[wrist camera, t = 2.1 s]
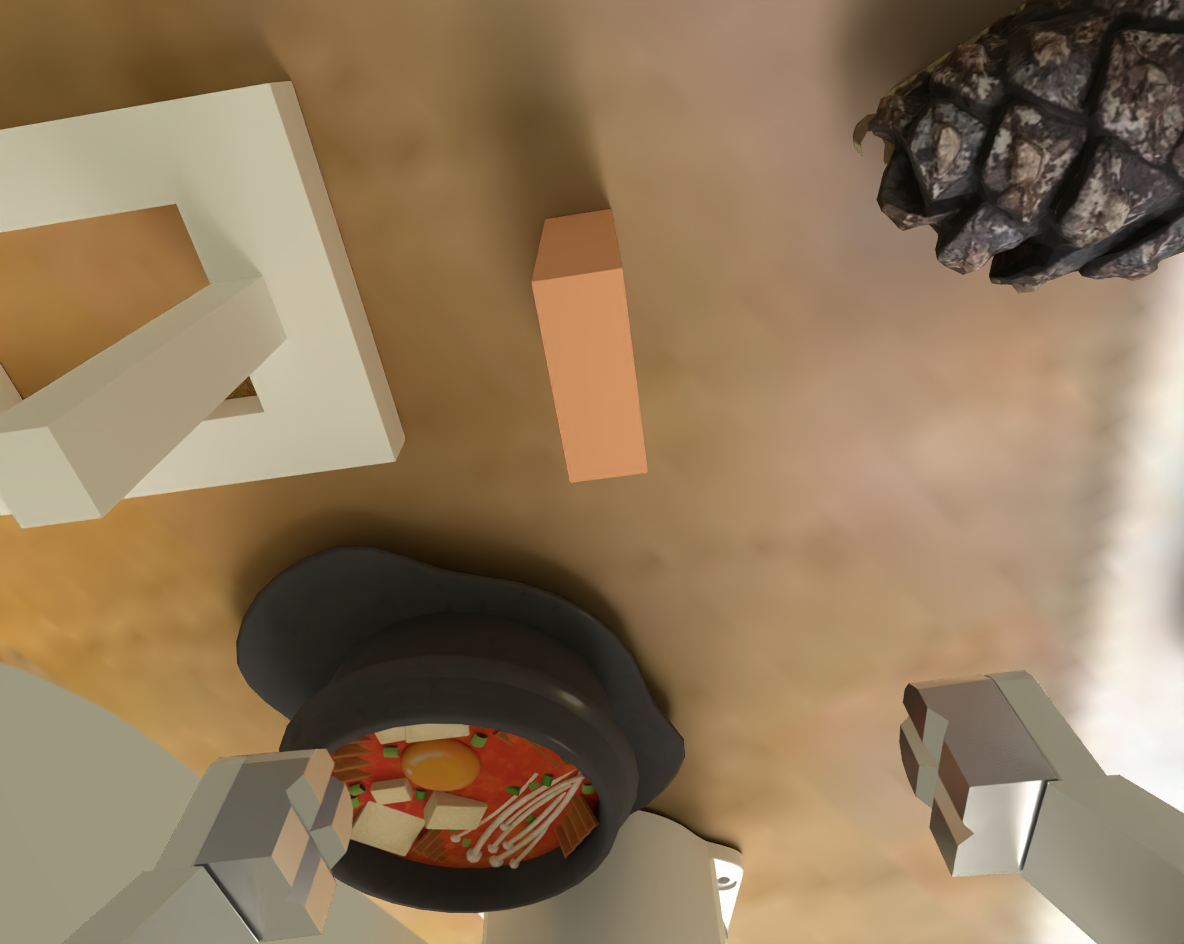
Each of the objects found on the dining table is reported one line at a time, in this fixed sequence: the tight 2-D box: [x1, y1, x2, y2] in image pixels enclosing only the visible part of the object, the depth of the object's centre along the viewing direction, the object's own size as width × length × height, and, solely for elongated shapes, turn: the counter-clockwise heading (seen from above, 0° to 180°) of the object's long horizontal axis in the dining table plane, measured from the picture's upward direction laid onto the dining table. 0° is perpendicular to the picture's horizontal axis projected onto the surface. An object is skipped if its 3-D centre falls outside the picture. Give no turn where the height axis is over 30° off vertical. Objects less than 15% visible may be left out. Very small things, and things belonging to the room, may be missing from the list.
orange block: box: [531, 209, 648, 483], centre depth 25 cm, size 6×2×8 cm, turn 8°
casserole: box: [236, 546, 685, 913], centre depth 36 cm, size 25×19×8 cm
